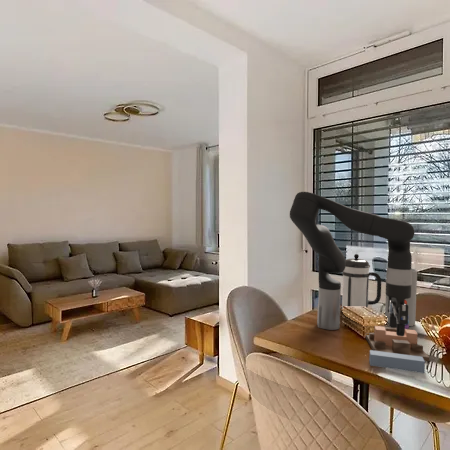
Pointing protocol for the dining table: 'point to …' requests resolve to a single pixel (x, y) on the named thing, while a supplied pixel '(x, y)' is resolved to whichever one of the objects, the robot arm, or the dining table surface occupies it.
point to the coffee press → (358, 283)
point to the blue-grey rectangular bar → (397, 361)
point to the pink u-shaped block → (394, 336)
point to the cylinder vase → (408, 301)
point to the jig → (397, 346)
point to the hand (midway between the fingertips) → (396, 331)
